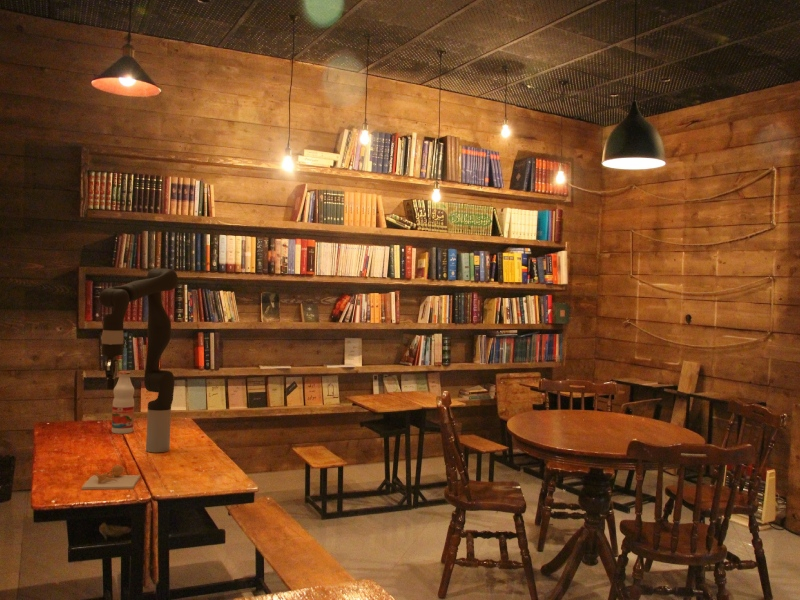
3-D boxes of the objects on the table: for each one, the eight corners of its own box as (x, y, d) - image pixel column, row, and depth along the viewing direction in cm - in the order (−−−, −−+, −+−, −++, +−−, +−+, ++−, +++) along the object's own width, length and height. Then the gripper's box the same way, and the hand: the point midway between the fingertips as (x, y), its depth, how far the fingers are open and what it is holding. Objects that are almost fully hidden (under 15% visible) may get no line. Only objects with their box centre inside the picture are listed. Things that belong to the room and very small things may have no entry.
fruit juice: (136, 430, 335) (138, 371, 335) (128, 434, 325) (130, 373, 325) (116, 429, 335) (119, 370, 335) (107, 433, 326) (110, 372, 326)
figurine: (110, 468, 252) (87, 487, 241) (111, 454, 250) (87, 472, 239) (130, 476, 250) (108, 495, 240) (131, 462, 248) (109, 481, 237)
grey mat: (92, 477, 249) (92, 475, 249) (140, 477, 252) (140, 475, 252) (81, 489, 234) (81, 487, 234) (132, 488, 237) (132, 486, 237)
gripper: (105, 341, 270) (103, 386, 270) (97, 343, 257) (96, 391, 258) (126, 341, 272) (124, 386, 272) (119, 344, 259) (118, 391, 259)
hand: (110, 389), depth 265 cm, fingers closed
